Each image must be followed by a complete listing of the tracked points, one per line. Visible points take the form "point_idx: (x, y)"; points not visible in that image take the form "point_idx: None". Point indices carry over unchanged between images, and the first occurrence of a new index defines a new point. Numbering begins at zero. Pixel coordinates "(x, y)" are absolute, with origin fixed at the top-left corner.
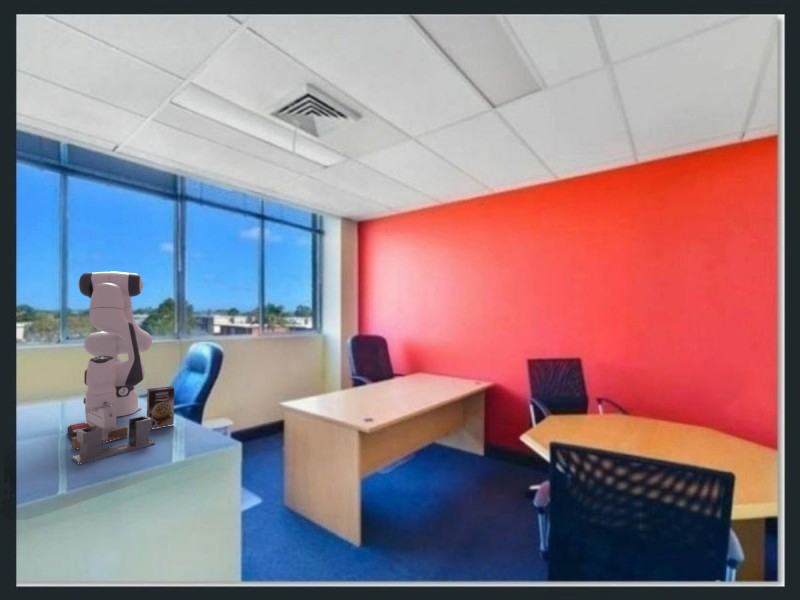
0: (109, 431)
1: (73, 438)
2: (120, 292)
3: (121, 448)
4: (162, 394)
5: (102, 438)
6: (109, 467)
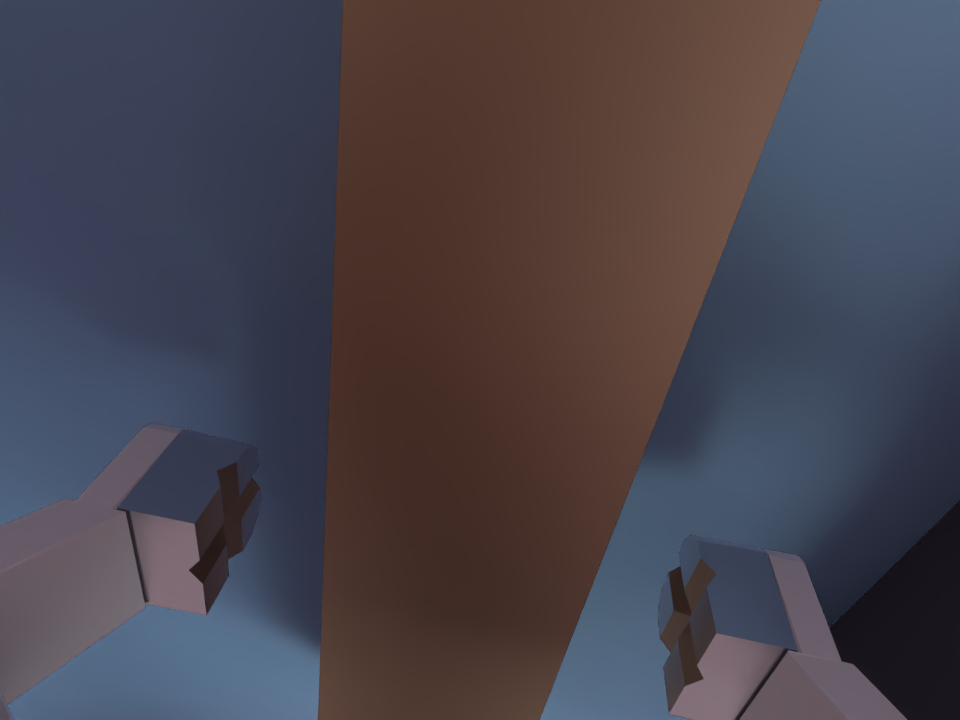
0: (319, 705)
1: None
2: None
3: None
4: None
5: (131, 451)
6: None
